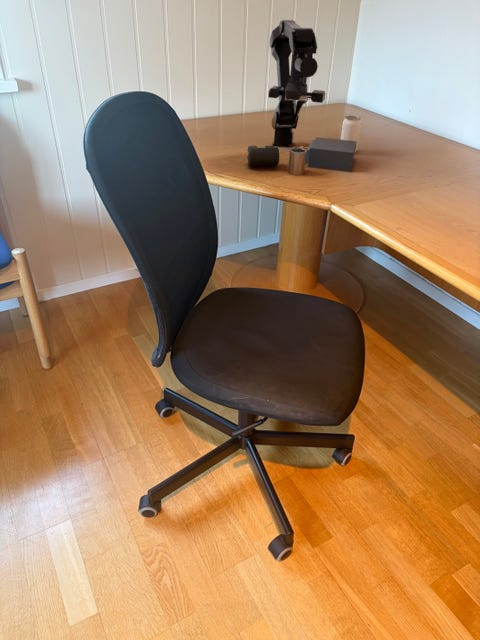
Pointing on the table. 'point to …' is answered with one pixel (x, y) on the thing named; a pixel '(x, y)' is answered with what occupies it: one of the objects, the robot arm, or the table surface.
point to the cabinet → (332, 154)
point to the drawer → (307, 151)
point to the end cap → (263, 157)
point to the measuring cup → (296, 160)
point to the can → (351, 129)
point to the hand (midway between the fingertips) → (294, 120)
